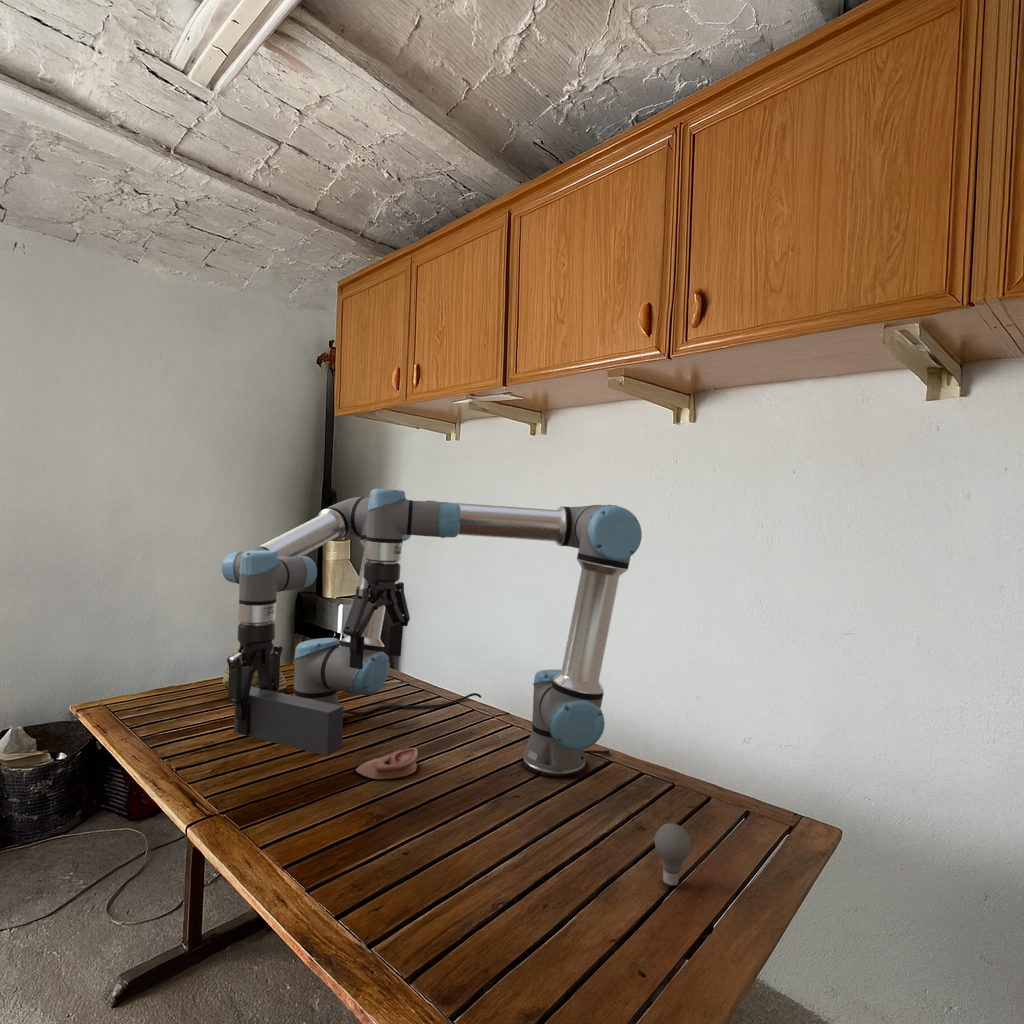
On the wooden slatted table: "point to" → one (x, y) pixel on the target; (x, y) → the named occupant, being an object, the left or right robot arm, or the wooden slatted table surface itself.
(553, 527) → the right robot arm
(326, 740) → the bar
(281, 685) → the fossil
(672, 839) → the light bulb
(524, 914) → the wooden slatted table surface
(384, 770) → the anatomical model
